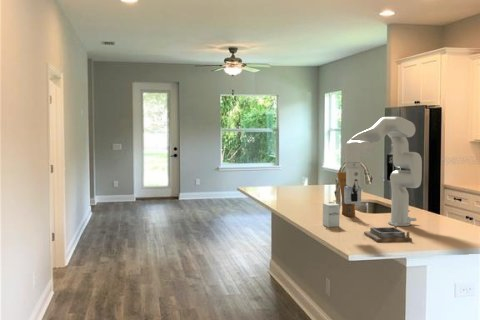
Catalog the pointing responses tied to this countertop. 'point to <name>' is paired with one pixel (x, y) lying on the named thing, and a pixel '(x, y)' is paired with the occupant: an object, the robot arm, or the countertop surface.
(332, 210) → the supplement box
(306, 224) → the countertop surface
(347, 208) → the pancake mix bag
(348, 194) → the medicine box
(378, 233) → the carrier board
